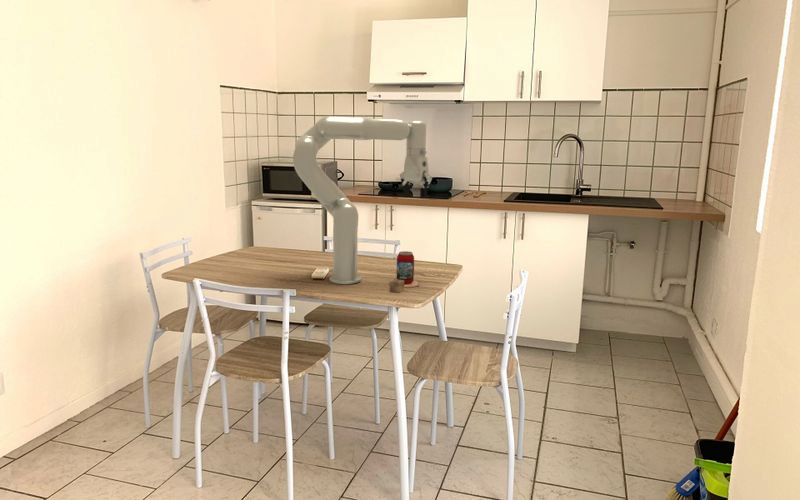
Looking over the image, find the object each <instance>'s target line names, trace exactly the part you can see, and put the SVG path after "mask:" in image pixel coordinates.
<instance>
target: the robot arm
mask: <svg viewBox="0 0 800 500" xmlns="http://www.w3.org/2000/svg"><path fill="white" fill-rule="evenodd" d="M426 136H427V123H426V122H425V121H423V120H409V121H405V120H403V119H385V118H384V119H383V118H371V117H366V116H365V117H364V116H363V117H362V116H340V115H339V116H336V115H326V116H322V117H321V118H320V119H319V120H318V121H316V123H315V124H313V126H312V127H310V128H309V129H308V130H307V131H305V133H303V134H302V135H301V136H300V137H299V138H298V139H297V140H296V142H295V144H294V150H293V155H292V163H293V167H294V170H295V172H296V174H297V177H299V178H300V179H301V181H302V182H303V183H304V184H305V186H306V187H307V188H308V189H309V191H311V193H312V194H313V195H314V198H315V199H316V200H317V201H318V202H319V203H320V205H322V206H323V208H325V210H326V211H327V213H329V214H330V216H331V217H332V220H333V221H332V223H333V226H332V227H333V229H332V230H333V232H332V245H333V249H332V250H333V251H332V252H333V257H332V258H333V261H332V263H333V264H332V265H333V266H332V268H330V269H329V272H331V273H332V275H331V276H330V277H329V282H331V284H332V283H333V284H337V285H338V284H339V285H353V284H357V283H360V282H361V281H362V277H361V276H360V275H358V244H359V243H358V228H359V211H358V209H357V207H356V205H355V204H354V203H353V202H352V201H351V200H350V199H349V198H348V197H347V196H346V194H345V193H344V192H343V191H342V190H341V189H340V188H339V186H338V185H337V184H336V182H334V180H332V179H331V178H330V177H329V176H328V175H327V174H326V172H325V171H324V170H323V169H322V168H321V166H320V165H319V164H318V162H317V155H318V153H319V151H320V150H321V149H322V148H323V147H324V146H325V145H326V144H327V143H329V142H330V141H331V140H353V141H354V140H355V141H356V140H357V141H370V140H385V141H386V140H387V141H403V140H405V139H406V150H405V152H406V154H405V158H404V165H403V171H402V172H401V173H399V178H400V182H401V185H402V186H403V187H402V189H403V192H402V193H403V196H404V197H408V196H410V195H411V185H410V184H411V183H417V184H420V189H419V191H420V194H419V198H420V199H427V198H428V188H429V186H430V185H431V183H432V180H433V177H432V176H431V175H430V173H429V162H428V157H427V155H426V154H427V144H426V143H427V137H426Z"/></svg>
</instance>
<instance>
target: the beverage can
mask: <svg viewBox="0 0 800 500" xmlns="http://www.w3.org/2000/svg"><path fill="white" fill-rule="evenodd" d="M414 273H415V255H414V254H413V252H412V251H408V250H407V251H405V250H404V251H403V250H402V251H399V252H398V254H397V256H396V279H398V280H404V284H410V283H412V282H413V281H415V280H414V279H415V276H414V275H415V274H414Z"/></svg>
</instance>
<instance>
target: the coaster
mask: <svg viewBox="0 0 800 500" xmlns="http://www.w3.org/2000/svg"><path fill="white" fill-rule="evenodd" d="M418 286H419V282H418V281H417V280H414V281H413V282H412V283H410V284H404V289H405V288H406V289H407V288H408V289H409V288H415V287H418Z"/></svg>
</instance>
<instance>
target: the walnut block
mask: <svg viewBox="0 0 800 500" xmlns="http://www.w3.org/2000/svg"><path fill="white" fill-rule="evenodd" d="M404 291H405V288H404V280H398V279H397V278H395V279H391V280H390V281H389V292H391V293H396V294H400V293H402V292H404Z"/></svg>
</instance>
